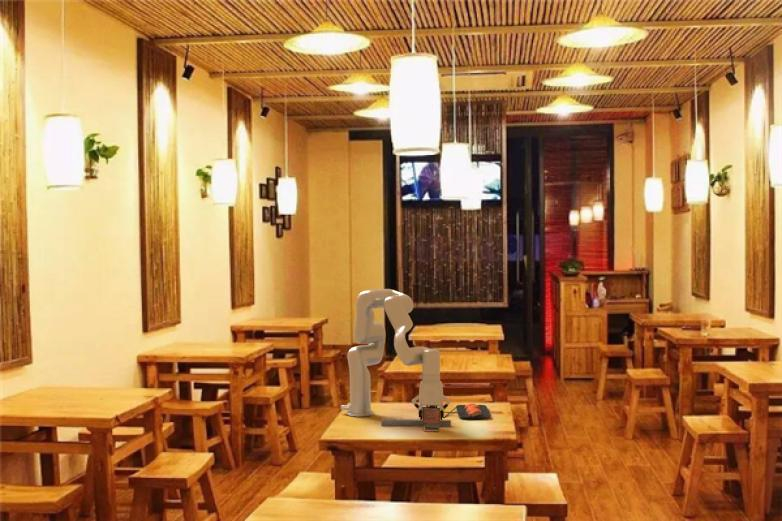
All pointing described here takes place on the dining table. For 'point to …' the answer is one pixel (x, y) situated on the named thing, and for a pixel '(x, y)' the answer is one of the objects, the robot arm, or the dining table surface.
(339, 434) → the dining table surface
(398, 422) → the rail
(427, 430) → the marked pad
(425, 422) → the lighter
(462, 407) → the sushi plate
